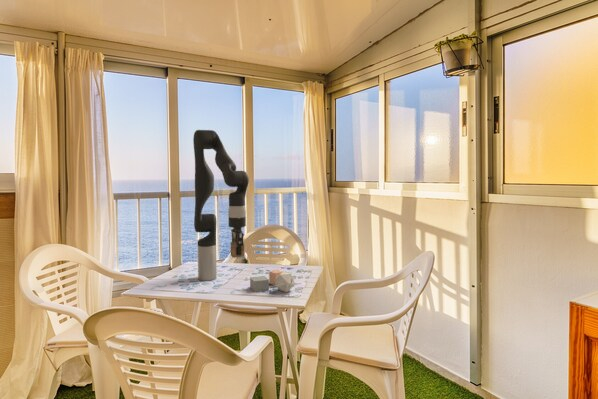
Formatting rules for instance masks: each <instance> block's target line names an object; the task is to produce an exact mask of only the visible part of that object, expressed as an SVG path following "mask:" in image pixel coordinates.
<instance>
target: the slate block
mask: <svg viewBox="0 0 598 399" xmlns="http://www.w3.org/2000/svg"><path fill="white" fill-rule="evenodd" d="M268 278H269V277H268ZM268 278H267V277H266V276H265V275H262V276H261V275H259V276H251V277H249V286H250V287H249V288H250V289H251V290H252V291H253V292H254V293H255V292H256V293H257V292H263V291H270V284H269V279H268Z"/></svg>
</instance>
